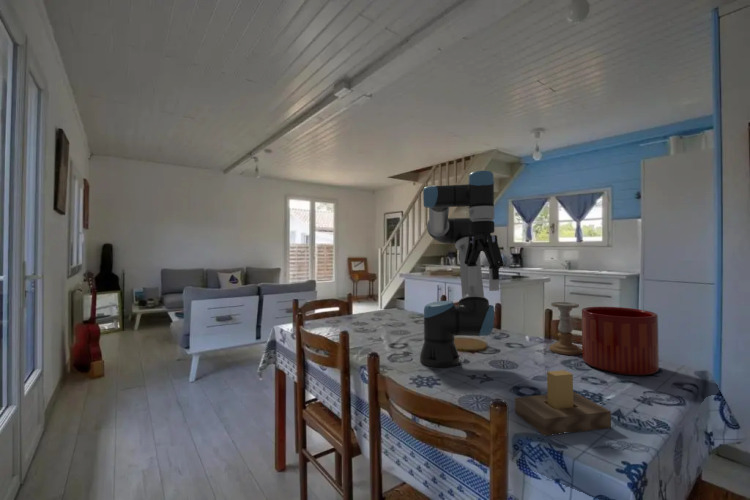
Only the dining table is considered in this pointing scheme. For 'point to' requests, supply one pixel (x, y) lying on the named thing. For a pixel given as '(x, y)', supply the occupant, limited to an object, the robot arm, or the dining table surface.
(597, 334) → the planter
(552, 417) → the socket block
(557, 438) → the dining table surface
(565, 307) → the candle holder
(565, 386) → the peg
